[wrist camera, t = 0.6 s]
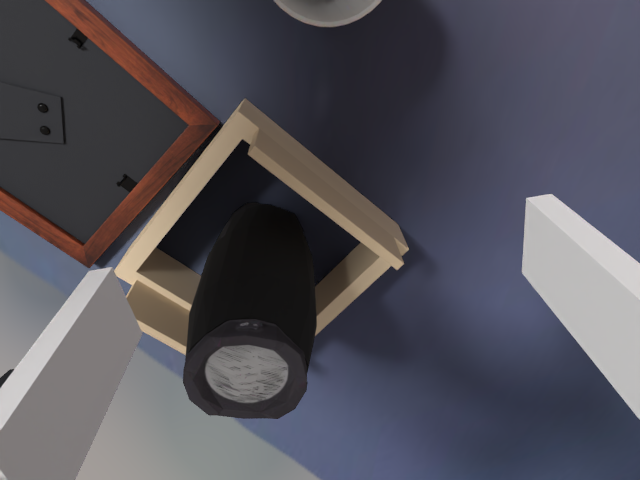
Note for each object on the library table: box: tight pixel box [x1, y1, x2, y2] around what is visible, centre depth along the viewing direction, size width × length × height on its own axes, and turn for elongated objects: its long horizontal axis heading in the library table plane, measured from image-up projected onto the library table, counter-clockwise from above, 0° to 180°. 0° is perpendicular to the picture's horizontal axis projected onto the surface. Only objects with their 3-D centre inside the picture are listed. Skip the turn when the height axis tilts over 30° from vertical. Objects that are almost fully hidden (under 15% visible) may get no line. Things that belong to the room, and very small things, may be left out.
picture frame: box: [0, 0, 220, 268], centre depth 38 cm, size 20×2×25 cm
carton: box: [114, 98, 409, 355], centre depth 41 cm, size 19×19×10 cm
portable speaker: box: [183, 202, 317, 419], centre depth 37 cm, size 9×9×20 cm
